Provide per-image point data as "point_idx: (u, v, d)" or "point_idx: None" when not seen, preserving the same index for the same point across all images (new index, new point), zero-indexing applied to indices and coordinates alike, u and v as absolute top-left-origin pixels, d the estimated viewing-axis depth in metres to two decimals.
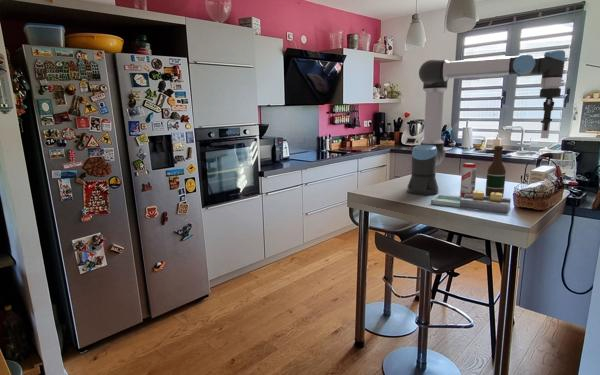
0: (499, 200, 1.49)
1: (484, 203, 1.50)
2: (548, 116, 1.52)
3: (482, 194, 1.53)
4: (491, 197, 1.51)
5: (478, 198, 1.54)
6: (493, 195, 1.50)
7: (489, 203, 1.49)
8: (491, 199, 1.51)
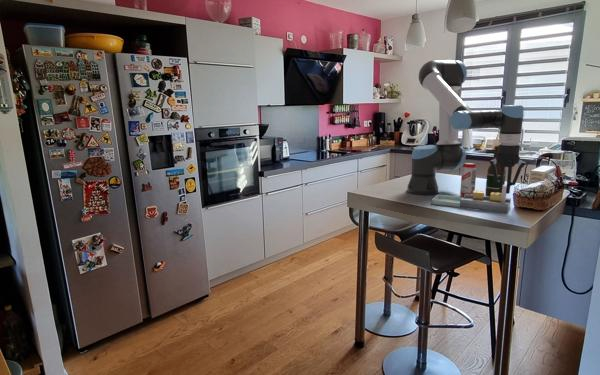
0: (499, 200, 1.49)
1: (484, 203, 1.50)
2: (494, 178, 1.50)
3: (482, 194, 1.53)
4: (491, 197, 1.51)
5: (478, 198, 1.54)
6: (493, 195, 1.50)
7: (489, 203, 1.49)
8: (491, 199, 1.51)
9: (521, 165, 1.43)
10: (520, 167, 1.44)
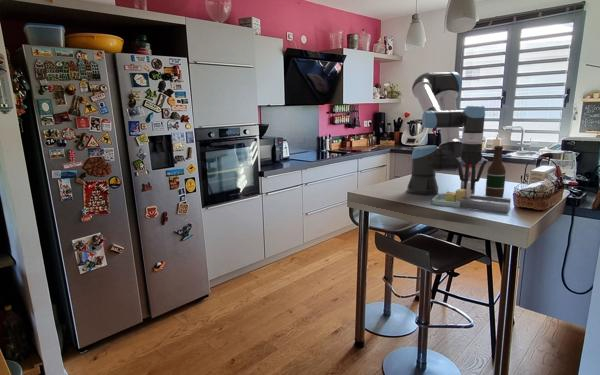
0: (464, 196, 1.57)
1: (484, 203, 1.50)
2: None
3: (446, 195, 1.61)
4: (456, 194, 1.58)
5: (450, 198, 1.61)
6: (458, 192, 1.58)
7: (489, 203, 1.49)
8: (456, 196, 1.58)
9: (483, 163, 1.51)
10: (482, 164, 1.51)
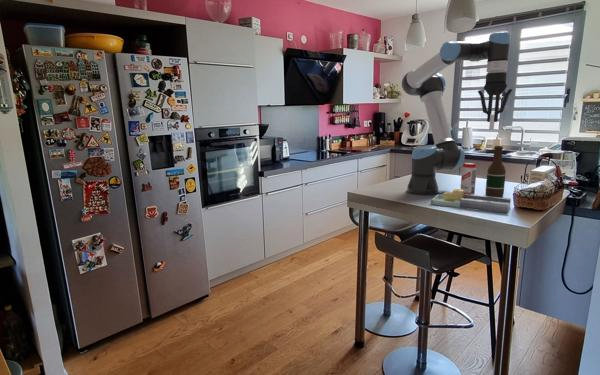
0: (461, 196, 1.57)
1: (484, 203, 1.50)
2: None
3: (445, 194, 1.62)
4: (453, 194, 1.59)
5: (449, 198, 1.61)
6: (455, 192, 1.58)
7: (489, 203, 1.49)
8: (454, 196, 1.59)
9: (508, 92, 1.48)
10: (507, 94, 1.48)
